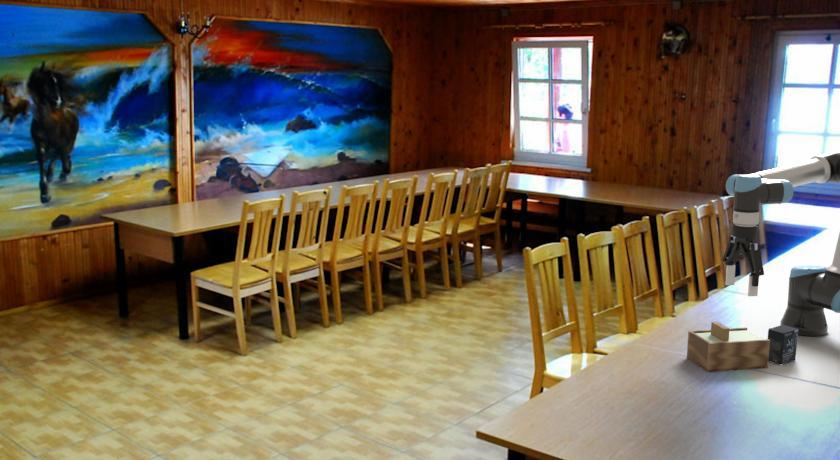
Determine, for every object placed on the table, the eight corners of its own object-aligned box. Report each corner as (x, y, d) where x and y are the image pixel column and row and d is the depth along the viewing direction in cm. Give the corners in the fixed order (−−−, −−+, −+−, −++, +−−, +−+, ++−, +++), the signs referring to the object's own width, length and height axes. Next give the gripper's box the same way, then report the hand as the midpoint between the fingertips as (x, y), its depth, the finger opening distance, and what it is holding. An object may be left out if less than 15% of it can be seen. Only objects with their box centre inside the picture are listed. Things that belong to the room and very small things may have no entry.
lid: (747, 332, 259) (748, 317, 258) (766, 343, 249) (768, 328, 248) (692, 336, 256) (693, 321, 255) (710, 347, 246) (711, 331, 245)
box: (781, 365, 252) (784, 332, 250) (765, 360, 256) (767, 328, 254) (796, 360, 256) (798, 328, 254) (779, 355, 260) (782, 324, 258)
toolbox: (744, 354, 262) (746, 327, 260) (767, 368, 249) (770, 340, 248) (686, 357, 258) (688, 330, 257) (707, 372, 246) (709, 343, 244)
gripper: (714, 218, 264) (710, 281, 268) (756, 232, 240) (751, 301, 244) (735, 217, 266) (731, 280, 270) (779, 231, 241) (774, 300, 245)
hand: (740, 290), depth 257 cm, fingers open, 13 cm apart
